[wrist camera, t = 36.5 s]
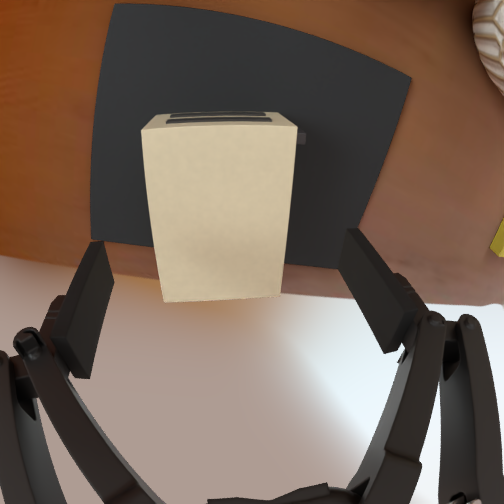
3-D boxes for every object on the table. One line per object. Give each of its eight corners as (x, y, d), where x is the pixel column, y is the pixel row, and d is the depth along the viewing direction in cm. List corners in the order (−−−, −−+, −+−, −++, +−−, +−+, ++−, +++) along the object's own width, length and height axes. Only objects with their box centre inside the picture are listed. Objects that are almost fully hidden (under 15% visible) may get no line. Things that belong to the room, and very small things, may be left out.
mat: (92, 235, 26) (91, 239, 25) (116, 4, 15) (114, 3, 15) (336, 266, 31) (338, 269, 31) (408, 77, 21) (412, 77, 20)
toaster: (163, 302, 23) (140, 127, 16) (169, 260, 28) (155, 112, 20) (294, 295, 24) (317, 125, 17) (280, 256, 29) (293, 111, 22)
